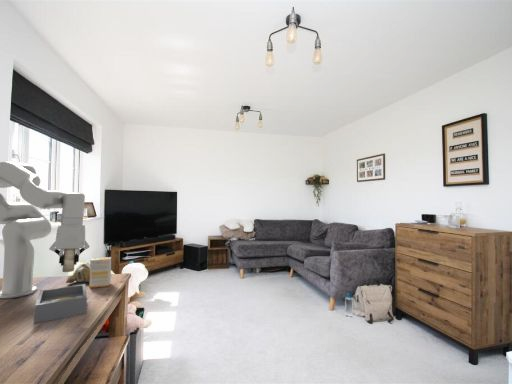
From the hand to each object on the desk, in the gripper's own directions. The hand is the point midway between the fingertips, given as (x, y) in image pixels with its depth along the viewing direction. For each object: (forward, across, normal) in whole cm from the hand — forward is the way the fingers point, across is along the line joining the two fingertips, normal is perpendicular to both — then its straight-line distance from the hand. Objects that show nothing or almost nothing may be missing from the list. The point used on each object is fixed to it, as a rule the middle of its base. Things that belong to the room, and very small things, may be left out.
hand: (68, 264), depth 109 cm
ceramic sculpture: (+14, +6, +20) cm, 25 cm away
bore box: (+13, -1, -14) cm, 20 cm away
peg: (+3, 0, 0) cm, 3 cm away
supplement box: (+14, +13, +8) cm, 20 cm away
